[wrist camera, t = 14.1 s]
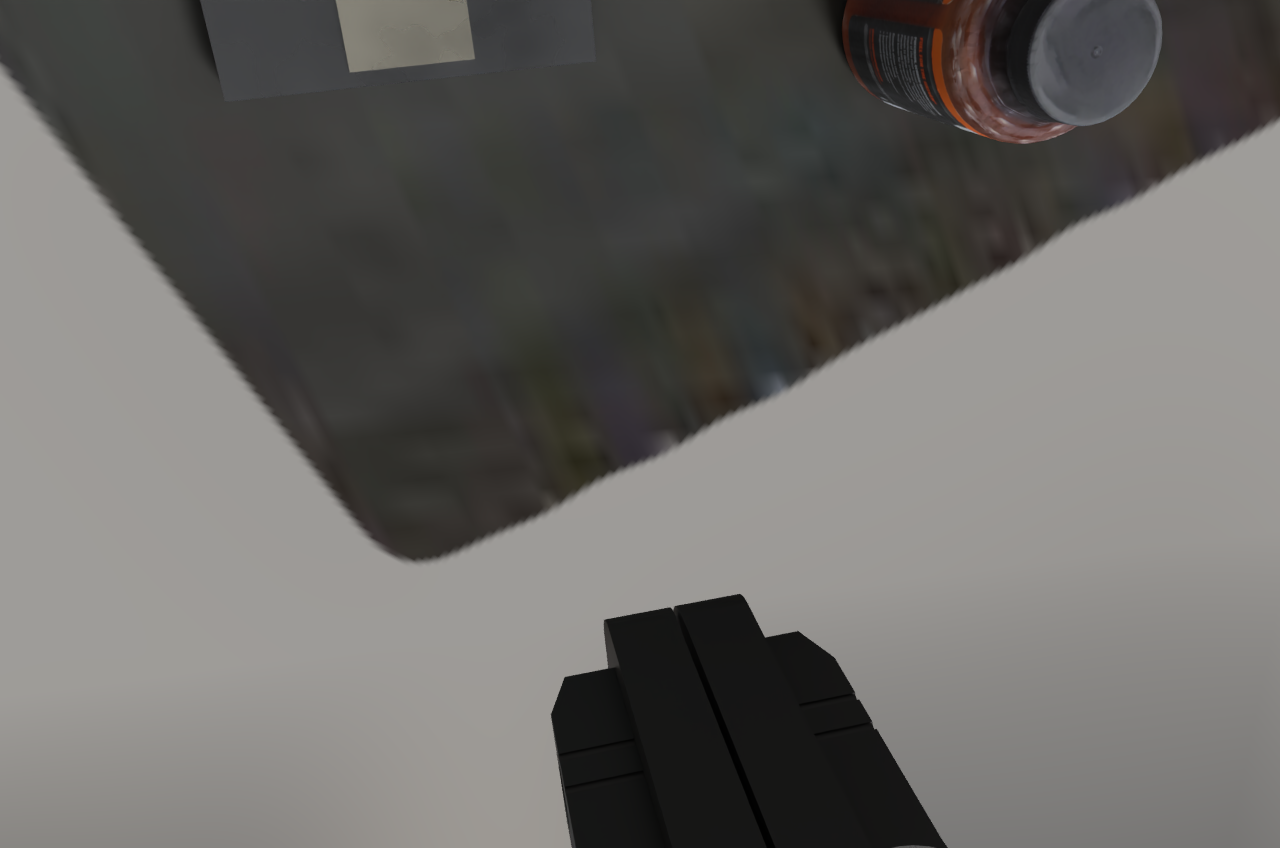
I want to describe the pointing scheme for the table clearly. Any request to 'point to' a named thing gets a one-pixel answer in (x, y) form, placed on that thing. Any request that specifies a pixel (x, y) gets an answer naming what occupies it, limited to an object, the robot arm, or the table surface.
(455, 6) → the plate
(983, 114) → the supplement bottle
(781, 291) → the table surface
